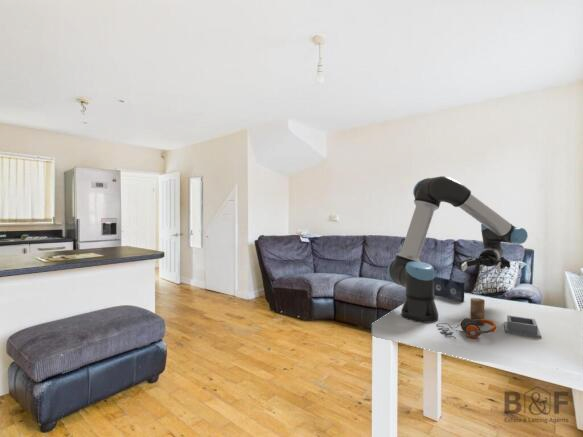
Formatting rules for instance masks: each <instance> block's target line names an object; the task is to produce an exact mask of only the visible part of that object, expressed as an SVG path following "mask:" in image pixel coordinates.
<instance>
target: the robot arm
mask: <svg viewBox="0 0 583 437" xmlns="http://www.w3.org/2000/svg"><path fill="white" fill-rule="evenodd" d="M412 192H413V193H412V194H413V197H414V200H413V204H414V205H415V208H414V211H413V213H412V216H411V220H410V223H409V225H408V226H409V227H408V229H407V232H406V235H405V238H404V241H403V244H402V247H401V250H400V252H398V253H397V254H396V256H395V257H394V258H395V259H393V260H392V261H391V262H389V264H388V266H387V275H388V278H389V279H390V280H391V282H394V283H395V285H398V286H402V287H403V288H405V300H404V301H403V304H402V307H401V316H402V317H403V318H404V319H406V320H410V321H413V322H418V323H419V322H420V323H431V322H432V323H433V322H434V323H435V322H436V321H438V320H439V310H438V309H437V306H436V302H435V295H434V277H435V276H436V274H435V269H434V266H432V265H431V264H430V263H428V262H422V261H421V260H420V256H421V253H422V249H423V246H424V243H425V240H426V237H427V235H428V231H429V228H430V225H431V222H432V218H433V215H434V212H435V211H437V210H438V209H439V208H440V205H441V203H442V202H443V203H447V204H450V205H452V206H453V207H455V208H460V209H461V210H462V211H463V212H465V213H466V214H468V215H469V216H471V217H472V218H474V220H476V221H478V222H479V223H480V224H481V225H480V228H481V230H480V232H481V236H482V237H481V238H482V244H483V250H482V251H481V253H480V254H479V256H478V257H475V258H474V256H470V257H469V258H465V259H462V260H459V261H458V266H459V268H461V272H465V271H466V270H467V269H468V268H470V267H472V266H482V265H483V266H485V267H488V268H489V267H493V266H496V272H497V273H500V272H501V270H503V269H506V268H508V269H509V268H511V262H510V261H509V260H508V259H506V258H505V257H504V256H503V254H504V249H503V246H502V243H508V244H512V245H515V244H516V245H521V244H524V243H525V242H526V241H527V239H528V232H527V230H526V229H525V228H523V227H519V226H515V225H513V224H512V223H510V222H509V221H508V220H507V219H505V218H504V217H502V216H501V215H500V214H498V213H497V211H495V210H493V209H492V208H490V207H489V206H488V205H486V204H485V203H484V202H482V201H481V200H480V199H478V198H477V197H476V196H475V195H473V194H472V191H471V189H469V188H468V187H467V186H465V185H464V184H462V183H461V182H459V181H458V180H456V179H454V178H452V177H449V176H442V175H441V176H436V177H427V178H424V179H421V180H419V181H418V182H417V183H415V185H414V187H413V191H412Z"/></svg>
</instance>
